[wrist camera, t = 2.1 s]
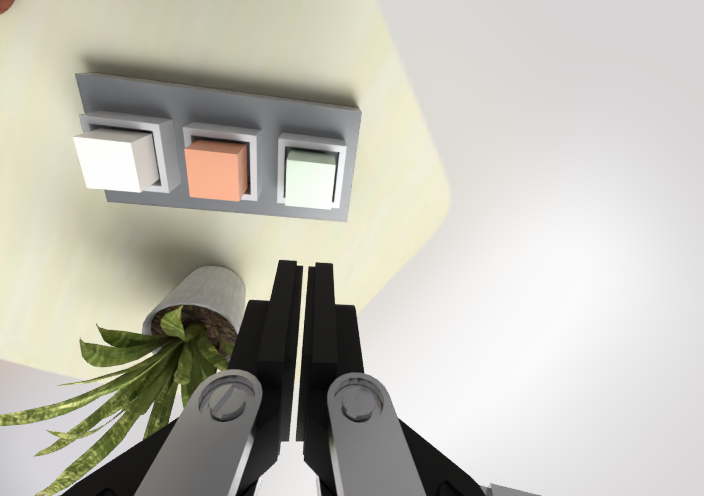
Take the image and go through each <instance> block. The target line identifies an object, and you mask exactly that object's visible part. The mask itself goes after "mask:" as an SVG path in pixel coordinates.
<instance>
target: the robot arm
mask: <svg viewBox="0 0 704 496" xmlns="http://www.w3.org/2000/svg"><path fill="white" fill-rule="evenodd" d="M302 276H303V266H297V261H289V260H279V263H278V267H277V272H276V276H275V281H274V285H273V290H272V294H271V298H270V301H263V300H249V302H248V304H247V307H246V310H245V313H244V317H243V320H242V323H241V326H240V329H239V332H238V336H237V339H236V342H235V345H234V348H233V351H232V355H231V358H230V361H229V364H228V367H227V370H226V371H221V372H218V373H216V374H214V375H212V376H209V377H208V378H207V379H206V380H204V381H203V382H202V383H200V385H199V386H198V387H197V389H196V390H195V391H194V393H193V394H192V396H191V398H190V399H189V401H188V403H187V405H186V406H185V408H184V410H183V412H182V413H181V415H180V417H178V418H177V419H175V420H173V421H172V422H170V423H169V424H167V425H166V426H164V427H163V428H161V429H160V430H158V431H156V432H155V433H153V434H152V435H150V436H149V437H147V438H146V439H144V440H143V441H141V442H139V443H138V444H136V445H135V446H133V447H132V448H130V449H129V450H127V451H126V452H124V453H123V454H121V455H119V456H118V457H116V458H115V459H113V460H112V461H110V462H109V463H107V464H106V465H104V466H102V467H101V468H99V469H98V470H96V471H95V472H93V473H92V474H90V475H89V476H87V477H85V478H84V479H82V480H81V481H79V482H78V483H76V484H75V485H74V486H72V487H71V488H70V489H68V490H67V491H66V492H65V493H63V494H62V495H60V496H258V492H259V489H260V485H261V482H262V475H263V474H264V472H266V471H267V470H268V469H269V468H270V467H271V466H272V465H273V464H274V463H275V462H276V461H277V457H278V455H279V453H280V444H281V441H289V435H290V423H291V412H292V401H293V390H294V379H295V368H296V357H297V346H298V334H299V320H300V305H301V291H302ZM296 441H304V445H303V446H304V447H303V455H304V461H305V462H306V463H307V465H308V466H309V467H310V468H311V469H312V470H313V471H314V472H315V473H316V485H317V493H318V496H540V495H536V494H531V493H528V492H523V491H520V490H515V489H511V488H507V487H503V486H499V485H495V484H490V485H489V487H484V486H480V485H478V484H477V483H476V482H475V481H474V480H473V479H472V478H471V477H470V476H469V475H468V474H467V473H465V472H464V471H463V470H462V469H460V468H459V467H458V466H457V465H456V464H454V463H453V462H452V461H451V460H450V459H448V458H447V457H446V456H444V455H443V454H442V453H441V452H440V451H438V450H437V449H436V448H435V447H433V446H432V445H431V444H430V443H429V442H427V441H426V440H425V439H424V438H422V437H421V436H420V435H419V434H417V433H416V432H415V431H414V430H412V429H411V428H410V427H409V426H407V425H406V424H405V423H404V422H403V421H401V420H400V419H399V418H398V417H397V415H396V412H395V409H394V407H393V404H392V401H391V398H390V396H389V394H388V392H387V390H386V388H385V387H384V386H383V385H382V384H381V383H380V382H379V381H378V380H377V379H375V378H374V377H372V376H370V375H367V374H364V367H363V361H362V353H361V345H360V338H359V331H358V323H357V316H356V309H355V306H354V305H339V304H335V297H334V278H333V264H332V263H318V262H316V264H315V267H310V266H309V269H308V282H307V294H306V307H305V320H304V333H303V346H302V360H301V374H300V388H299V403H298V416H297V430H296ZM37 496H47V495H46V493H45V494H41V495H37Z"/></svg>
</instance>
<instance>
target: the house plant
mask: <svg viewBox="0 0 704 496" xmlns="http://www.w3.org/2000/svg"><path fill="white" fill-rule="evenodd" d="M244 307H245V286H244V283H243V281H242V279H241V278H240V277H239V276H238V275H237V274H236V273H235V272H233V271H232V270H230V269H228V268H226V267H220V266H202V267H199V268H197V269H195V270H194V271H193V272H192V273H190V274H189V275H188V276H187V277H186V278H185V279H184V280H183V281H182V282H181V283H180V284H179V285H178V286H177V287H176V288H175V289H174V290H173V291H172V292H171V293H170V294H169V295H168V296H167V297H166V298H165V299H164V300H163V301H162V302H161V303H160V304H159V305H158V306H157V307H156V308H155V309H154V310H153V311H152V312H151V313H149V314H148V316H147V317H146V319H145V321H144V323H143V328H142V334H138V333H132V332H126V331H117V330H106V329H103V328H100V327H99V326H98V325H97V324H96V325H97V327H98V329H99V331H100V333H101V335H102V337H103V339H104V341H105V342H107V343H108V344H110V345H111V346H114V347H109V346H103V345H98V344H91V343H84V342H83V341H82V340H81V339H80V347H81V353H82V357H83V358H84V359H85V360H86V362H87V363H89V364H91V365H93V366H96V367H110V366H116V365H122V364H125V363H128V362H131V361H134V360H137V359H139V358H141V357H143V356H145V355H147V354H148V353H150V352H152V353H153V354H154V355H153V356H151V357H150V358H148V359H146V360H144V361H142V362H141V363H139V364H136V365H134V366H132V367H130V368H128V369H125V370H121V371H118V372H115V373H111V374H107V375H104V376H101V377H98V378H94V379H91V380H87V381H82V382H76V383H69V384H80V383H91V382H95V381H98V380H101V379H104V378H108V377H111V376H115V375H119V374H123V373H125V374H123V375H121V376H120V377H118V378H116V379H114V380H113V381H111V382H109V383H107V384H105V385H102V386H100V387H98V388H96V389H94V390H92V391H89V392H87V393H85V394H82V395H80V396H77V397H75V398H72V399H69V400H66V401H63V402H60V403H57V404H53V405H49V406H44V407H40V408H35V409H31V410H25V411H20V412H15V413H10V414H4V415H0V426H9V425H20V424H29V423H33V422H38V421H42V420H47V419H51V418H54V417H57V416H60V415H64V414H66V413H69V412H71V411H73V410H76V409H78V408H80V407H83V406H85V405H86V404H88V403H90V402H92V401H94V400H95V399H97V398H99V397H101V396H103V395H106V394H109V393H112V392H114V391H117V390H119V389H120V390H119V391H118V392H117V393H116V394H115V395H114V396H113V397H111V398H110V399H109V400H108V401H107V402H106V403H105V404H103V405H102V406H101V407H100V408H99V409H98V410H96V411H95V412H94V413H93V414H91V415H90V416H89V417H88V418H87V419H85V420H84V421H82V422H81V423H80V424H79V425H77V426H76V427H74V428H73V429H71V430H70V431H69V432H67V433H61V432H52V431H48V432H50V433H51V434H53V435H56V436H58V437H60V439H59V440H57V441H56V442H55V443H54V444H52V445H51V446H50V447H48V448H46V449H44V450H42V451H40V452H38V453H37V454H36V455H35V456H40V455H45V454H49V453H52V452H55V451H57V450H59V449H61V448H63V447H65V446H67V445H68V444H70V443H71V442H73V441H75V440H76V439H79V438H83V437H86V436H88V435H90V434H92V433H94V432H96V431H98V430H99V429H100V428H102V427H103V426H101V427H99V428H98V429H95V430H92V431H89V432H87V431H88V430H90V429H91V428H92V427H94V426H95V425H96V424H97V423H98V422H100V421H101V420H102V419H104V418H106V417H108V416H110V415H112V414H114V413H116V412H117V411H118V410H120V409H121V408H122V411H121V412H120V413H119V414H121V413H122V412H123V411H126V412H125V413H124V414H123V416H122V417H121V418H120V419H119V420H118V421H117V422H116V423H115V424H114V425H113V426H112V427H111V428H110V429H109V430H108V431H107V432H106V433H105V434H104V435H103V436H102V437H101V438H100V439H99V440H98V441H97V442H96V443H95V444H94V445H93V446H92V447H91V448H90V449H89V450H88V451H87V452H85V454H83V455H82V456H81V457H80V458H78V459H77V460H76V461H75V462H74V463H72V464H71V465H70V466H69V467H68V468H67V469H66V470H65V471H64V472H63V473H62V474H61V475H60V476H59V477H58V478H57V479H56V480H55V481H54V482H53V483H52V484H51V485H50V486H49V487H47V488H46V489H44V490H43V491H41V492H39V493H38V494H36V495H35V496H37V495H41V494H45V493H46V495H47V496H51V495H53V494H55V493H57V492H59V491H61V490H63V489H65V488H67V487H68V486H70V485H71V484H73V483H74V482H75V481H77V480H78V479H80V478H81V477H82V476H83V475H84V474H86V473H87V472H88V471H90V470H91V469H92V468H93V467H95V466H96V465H97V464H98V463H99V462H100V461H102V460H103V459H104V458H105V457H106V456H107V455H108V454H109V453H110V452H111V451H112V450H113V449H114V448H115V447H116V446H117V445H118V444H119V443H120V442H121V441H122V440H123V439H124V437H125V436H126V434H127V432H128V431H129V430H130V428H131V427H132V426H133V424H134V423H135V421H136V420H137V419H138V417H139V416H140V415H143V414H145V413H146V412H147V410H148V409H149V407H150V406H151V404H152V403H153V402H154V406H153V409H152V412H151V415H150V418H149V421H148V425H147V428H146V431H145V434H144V438H143V440H144V439H146V438H147V437H149V436H150V435H152V434H153V433H155V432H156V431H158V430H160V429H161V428H163V427H164V426H166V425H167V424H168V422H169V418H170V414H171V410H172V406H173V403H174V399H175V394H176V391H177V387H178V383H179V384H181V393H182V402H183V407H184V408H185V406H186V405H187V403H188V401H189V399H190V398H191V396H192V394H193V393H194V391H195V390H196V389H197V387H198V386H199V385H200V383H202V382H203V381H204V380H206V379H207V378H208V377H209V376H212V375H214V374H216V372H217V368H218V369H219V370H221V371H226V370H227V367H228V364H229V361H230V358H231V355H232V351H233V348H234V345H235V342H236V339H237V336H238V332H239V329H240V326H241V323H242V320H243V317H244ZM116 347H117V348H116ZM165 362H166V363H165ZM161 367H162V368H161ZM126 372H127V373H126ZM69 384H63V385H69ZM132 400H133V401H132ZM154 400H155V401H154ZM131 401H132V402H131ZM128 403H129V404H128ZM127 404H128V405H127ZM124 406H125V407H124ZM123 407H124V408H123ZM119 414H118V415H119ZM118 415H116V416H115V417H117V416H118ZM115 417H114V418H115ZM114 418H113V419H114ZM109 422H110V421H109ZM109 422H108V423H109ZM106 424H107V423H106ZM106 424H105V425H106Z"/></svg>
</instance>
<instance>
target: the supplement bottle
mask: <svg viewBox="0 0 704 496" xmlns="http://www.w3.org/2000/svg"><path fill="white" fill-rule="evenodd" d="M13 2H14V0H0V14H2V13H4V12H5V11H7V10H8V9H9V8H10V6H11V5H12V4H13Z"/></svg>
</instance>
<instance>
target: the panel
mask: <svg viewBox="0 0 704 496" xmlns="http://www.w3.org/2000/svg"><path fill="white" fill-rule="evenodd" d="M75 76H76V80H77V84H78V88H79V92H80V95H81V99H82V103H83V107H84V111H85V114H82V115H79V117H80V121H81V125H82V129H83V133H86V132H90V131H93V130H96V129H100V128H104V129H113V130H122V131H131V132H140V133H148V134H152V138H153V144H154V150H155V156H156V162H157V168H158V175H159V180H157V181H156V182H154V183H153V184H152V185H150V186H149V187H148V188H146V189H145V190H143V191H142V192H141V193H139V192H128V191H117V190H106V189H104V190H105V194H106V198H107V202H116V203H128V204H140V205H152V206H164V207H175V208H187V209H199V210H211V211H222V212H234V213H246V214H258V215H270V216H281V217H293V218H305V219H317V220H329V221H340V222H347V217H348V210H349V202H350V195H351V188H352V180H353V173H354V166H355V158H356V151H357V144H358V136H359V129H360V122H361V114H362V111H361V110H360V109H359V108H356V107H348V106H341V105H333V104H326V103H318V102H311V101H304V100H296V99H289V98H281V97H274V96H266V95H259V94H251V93H244V92H236V91H229V90H222V89H214V88H207V87H199V86H192V85H184V84H177V83H169V82H162V81H155V80H147V79H140V78H132V77H125V76H117V75H110V74H102V73H77V74H75ZM199 139H202V140H210V141H219V142H228V143H237V144H246V148H247V185H248V188H247V189H246V191H245V193H244V194H243V196H242V198H241V200H240V201H229V200H217V199H206V198H195V197H190V193H189V184H188V176H187V168H186V159H185V151H184V149H185V148H186V147H188V146H189V145H191V144H192V143H194V142H196V141H197V140H199ZM290 150H299V151H308V152H317V153H325V154H334V157H335V164H336V167H335V176H334V186H333V195H332V204H331V210H329V209H318V208H307V207H296V206H285V196H286V166H287V158H288V155H289V152H290Z"/></svg>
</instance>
